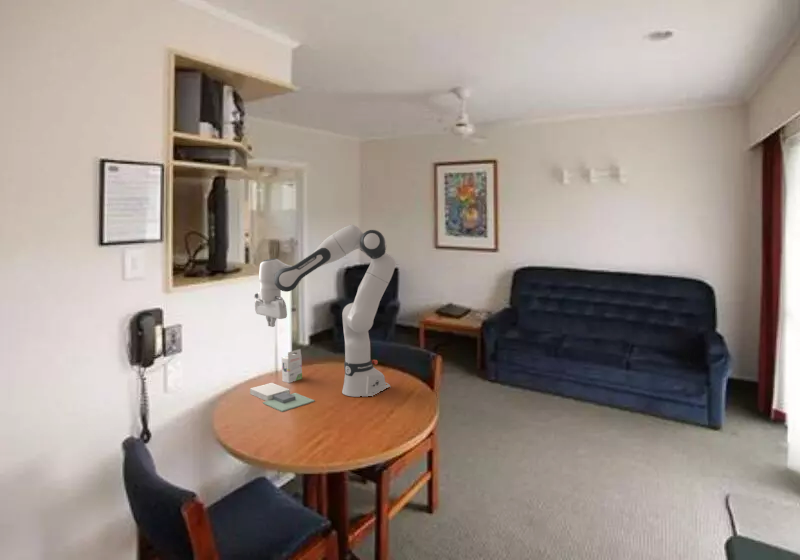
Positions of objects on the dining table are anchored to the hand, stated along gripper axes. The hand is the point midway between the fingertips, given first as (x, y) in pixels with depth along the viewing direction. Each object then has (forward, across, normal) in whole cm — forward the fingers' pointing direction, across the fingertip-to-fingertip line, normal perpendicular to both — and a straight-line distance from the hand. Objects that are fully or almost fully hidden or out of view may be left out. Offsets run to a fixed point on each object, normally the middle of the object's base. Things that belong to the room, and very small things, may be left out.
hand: (271, 326), depth 219 cm
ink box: (+29, +6, -14) cm, 33 cm away
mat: (+29, -18, +4) cm, 35 cm away
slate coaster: (+29, -15, +4) cm, 33 cm away
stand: (+29, -4, +4) cm, 30 cm away
